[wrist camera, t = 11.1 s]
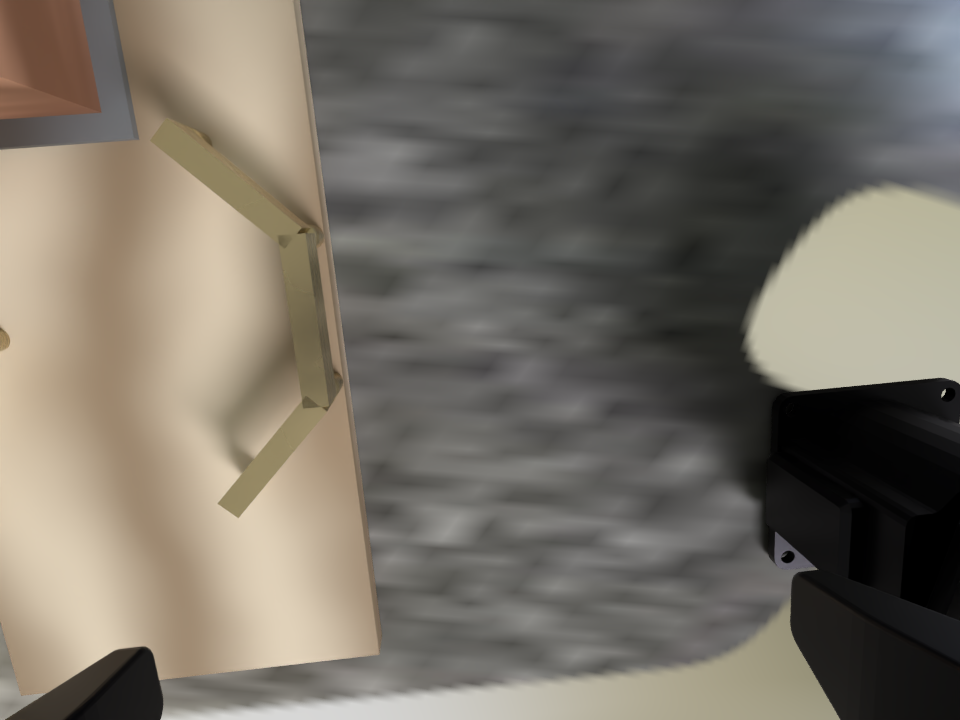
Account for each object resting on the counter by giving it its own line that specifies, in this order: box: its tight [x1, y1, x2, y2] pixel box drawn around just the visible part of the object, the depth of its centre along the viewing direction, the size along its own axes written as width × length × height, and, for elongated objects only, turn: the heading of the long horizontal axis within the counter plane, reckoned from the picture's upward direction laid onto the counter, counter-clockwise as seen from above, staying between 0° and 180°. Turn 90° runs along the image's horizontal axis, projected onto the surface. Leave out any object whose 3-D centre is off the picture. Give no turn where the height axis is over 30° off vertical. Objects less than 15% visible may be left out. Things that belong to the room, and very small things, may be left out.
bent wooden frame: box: [0, 118, 343, 518], centre depth 17 cm, size 12×11×2 cm
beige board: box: [0, 0, 382, 696], centre depth 18 cm, size 12×24×1 cm, turn 5°
